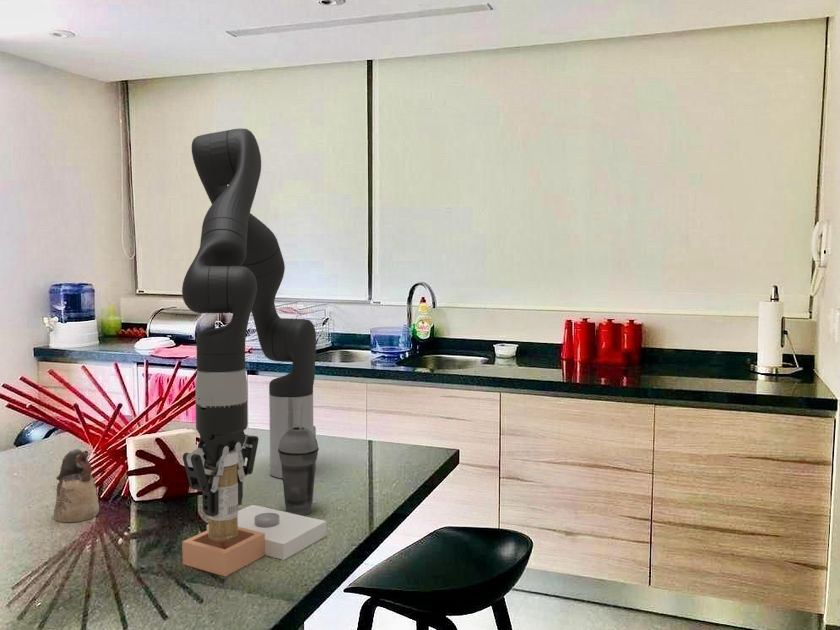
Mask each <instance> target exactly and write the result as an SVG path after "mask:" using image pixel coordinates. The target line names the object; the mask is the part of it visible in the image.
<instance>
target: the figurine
mask: <svg viewBox="0 0 840 630" xmlns="http://www.w3.org/2000/svg"><path fill="white" fill-rule="evenodd" d="M89 455H90V454H89V451H88V450H83V451H82V450H80V449H79V448H77V449H72V450H70V451H69V452H68V453H67V454H65V455H64V457H63V458H62V462H61V465H60V470H59V474H58V475H57V476H56V479H55V480H57V481H58V482H57V486H56V500H55V506H54V508H53V509H54V510H53V518H54V521H56V522H58V523H59V522H60V523H77V522H82V521H86V520H90V519H93V518H95V517H96V516H97V515H98V514H99V512H100V503H99V496H98V492H97V491H98V490H97V487H96V483H95V480H94V476H93V475H92V465H91V462H90V461H89V460H88V457H89Z"/></svg>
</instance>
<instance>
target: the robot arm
mask: <svg viewBox="0 0 840 630" xmlns="http://www.w3.org/2000/svg"><path fill="white" fill-rule="evenodd" d="M191 142H192V143H191V156H192V160H193V164H194V166H195V170H196V172H197V175H198V176H199V179H200V182H201V184H202V186H203V188H204V190H205V193H206V195H207V197H208V199H209V201H210V203H211V206H210V207H209V208H208V210H207V212H206V214H205V215H204V218H203V222H202V226H201V234H200V235H201V236H200V244H199V249H198V251H197V253H196V255H195V257H194V259H193V260H192V262H191V264H190V265H189V268H188V269H187V271H186V272H185V273H186V274H185V276H184V279H183V281H182V288H181V289H182V290H181V295H182V300H183V302H184V305H186V307H187V308H188V309H189V310H190V311H192V312H193V313H196V314H197V313H198V314H232V317H231V320H230V321H229V322H228V323H227V324H225V325H224V326H219V327H216V328H209V329H207V330H202V331H201V332H199V333H198V335H197V337H196V379H195V429H196V431H197V433H198V434H199V442H198V444H197V448H196V449H195V450H193V451H192V452H185V453H183V455H182V462H183V464H184V468H185V471H186V474H187V475H186V476H187V479H188V484H189V487H190V489H191V490H196V491H200V492H201V493H202V512H203V513H204V515H206V516H208V515H209V516H213V517H214V516H216V515H218V491H217V488H218V483H219V478H220V477H221V476H222V475H223V471H224V458H225V457H226V456H227V455H228V452H229V451H232V450H233V451H236V452H238V463H237V464H238V465H237V482H238V507H239V506H240V505H242V504H243V496H244V495H243V494H244V488H243V487H244V481H245V480H246V479H245V478H246V476H248V475H252V473H253V471H254V465H255V461H256V455H257V450H258V444H259V441H260V440H259V437H258V436H256V435H250V434H245V430H246V429H247V428H248V426H249V425H248V424H249V423H248V422H249V421H248V419H249V418H248V415H249V414H248V411H249V410H248V406H249V405H248V381H247V379H248V378H247V373H246V340H247V339H246V338H247V332H248V331H247V330H248V326H249V325H248V324H249V321H250V317H251V314H252V318H253V322H254V326H255V327H254V328H255V330H256V335H257V338H258V343H259V346H260V349H261V351H262V353H263V355H264V357H265V358H266V359H268V360H270V361H274V362H283V363H292V365H291V370H290V372H288V373H287V374H285V375H282V376H279V377H276V378H273V379H272V380H271V381H269V387H268V389H269V390H268V391H269V392H268V395H269V396H268V397H269V399H268V400H269V474H270V476H272V477H274V478H279V479H283V477H282V466H281V461H280V457H279V452H278V449H279V444H280V440H281V438H282V436H283V435H284V434H285V433H286V432H287V431H288V430H290V429H292V428H294V427H299V423H300V408H301V404H303V405H304V406H303V421H302V427H304V428H306V429H308V430H310V431H311V432H312V433H313V434H314V436H315V438H316V439H317V435H316V433H317V429H316V428H317V427H316V426H315V425H314V383H315V375H316V374H315V373H316V354H317V333H316V329H315V326H314V323H313V322H312V321H311V320H309V319H306V318H289V317H288V318H285V317H284V318H283V317H280V316H279V313H278V312H277V309H276V304H275V303H276V302H275V299H276V297H277V294H278V290H279V289H280V286H281V284H282V281H283V279H284V275H285V271H286V270H285V268H286V265H285V261H284V257H283V254H282V250H281V247H280V244H279V241H278V239H277V236H276V235H275V234H274V232H273V231H272V230H271V229H270V228H269V227H268V226H267V225H266V224H265V223H264V222H263V221H261V220H260V219H259V218H257V217H256V216H255V215H254V214H252V213H251V210H252V207H253V203H254V200H255V196H256V193H257V188H258V185H259V181H260V177H261V173H262V155H261V152H260V147H259V143H258V140H257V139H256V137H255V135H254V133H253V132H252V131H251V130H249V129H247V128H232V129H227V130H223V131H222V130H221V131H218V132H217V131H216V132H210V133H206V134H201V135H200V134H199V135H197V136H195V137H194V139H192V141H191ZM246 460H247V461H246ZM245 462H246V465H245ZM208 466H213V467H216V468H215V470H211V469H209V468H208ZM316 469H317V464H316V465H315V470H316ZM210 475H211V482H210V483H208V482H209V477H210Z"/></svg>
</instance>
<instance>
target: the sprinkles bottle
mask: <svg viewBox="0 0 840 630" xmlns="http://www.w3.org/2000/svg"><path fill="white" fill-rule="evenodd" d="M237 463H238V452H236V451H233V450H232V451H229V452H228V455H227V456H226V457H225V458H224V471H223V475H222V476H221V477H220V478H219V483H218V488H217V491H218V515H216V516H214V517H213V516H209V515H207V516H208V524H209V534H208V537H209V539H211V540H213V541H217V542H221V541H222V542H223V541H229V540H233V539H234V538H236V537H237V536H238V534H239V532H238V517H237V516H238V511H239V506H238V482H237V465H238V464H237ZM208 468H209V469H211V470H215V468H216V467H213V466H208ZM210 482H211V475H210V477H209V482H208V483H210Z"/></svg>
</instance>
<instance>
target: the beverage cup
mask: <svg viewBox="0 0 840 630" xmlns="http://www.w3.org/2000/svg"><path fill="white" fill-rule="evenodd" d="M303 406H304V405H303V404H301V408H300V423H299V427H294V428H292V429H290V430H288V431H287V432H286V433H285V434H284V435H283V436H282V438H281V440H280V444H279V449H278V452H279V457H280V461H281V466H282V477H283V478H282V487H283V496H284V504H285V512H288V513H292V514H297V515H301V516H308V515H309V514H311V513H312V507H313V500H314V487H315V477H316V474H315V473H316V469H315V465H316V466H317V459H318V455H319V454H318V453H319V449H320V448H319V443H318V440H317V437H316V438H315V436H314V434H313V433H312V432H311V431H310V430H308V429H306V428H304V427H302V421H303Z"/></svg>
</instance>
